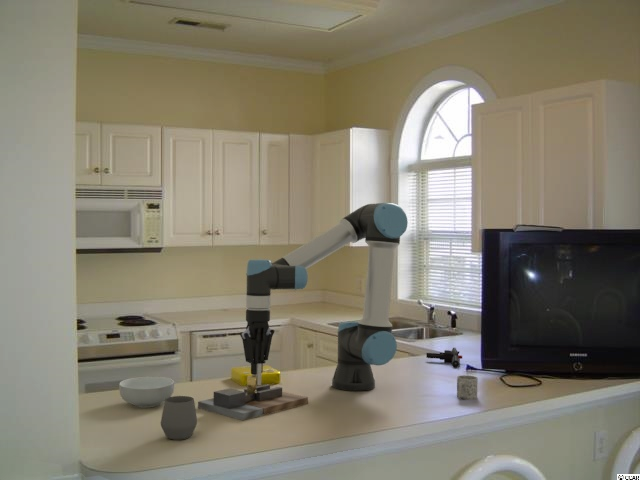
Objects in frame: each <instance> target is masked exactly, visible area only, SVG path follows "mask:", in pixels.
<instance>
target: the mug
mask: <svg viewBox="0 0 640 480" xmlns="http://www.w3.org/2000/svg"><path fill="white" fill-rule="evenodd" d="M456 398H458V399H462V400H476V399H477V398H478V377H476V376H474V375H466V374H465V375H464V374H463V375H458V376H457V379H456Z"/></svg>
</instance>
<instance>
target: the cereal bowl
mask: <svg viewBox="0 0 640 480" xmlns="http://www.w3.org/2000/svg"><path fill="white" fill-rule="evenodd" d="M118 390H119V391H118V392H119V395H120V397H121V399H122V400H123V401H125V402H126V403H128V404H132V405H134V406H135V407H137V408H153V407H158V406H160V404H161V403H164V402H165V399H166V398H168V397H172V395H173V393H174V390H175V380H173V379H172V378H170V377H165V376H140V377H132V378H127V379H124V380H121V381H120V382H119V384H118Z"/></svg>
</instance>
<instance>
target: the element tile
mask: <svg viewBox="0 0 640 480" xmlns="http://www.w3.org/2000/svg"><path fill="white" fill-rule="evenodd" d="M247 376H252V374H251V365H250V366H249V365H247V366H235V367H234V366H233V367H231V369H230V379H231V380H232V381H233V382H235V383H236V384H237V385H239V386H241V387H247ZM280 383H281V371H280V370H277V369H276V368H273V367H272V366H270V365H265V364H264V365H263V372H262V373H261V385H266V384H267V385H278V384H280ZM261 385H260V386H261Z"/></svg>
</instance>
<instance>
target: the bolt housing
mask: <svg viewBox="0 0 640 480" xmlns="http://www.w3.org/2000/svg"><path fill="white" fill-rule="evenodd" d="M246 392H247V388H244V389H243V391H242V390H239V389H234V388H230V387H229V388H225V389H220V390H215V391H213V398H214V399H213V405H215V406H219V407H223V408H227V409H232V408H236V407H240V406H244V405H245V395H246ZM282 392H283V387H280V386H276V387H273V388H271V384H266V385H256V401H258V402H261V401H265V400H270V399H274V398H278V397H282Z"/></svg>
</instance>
